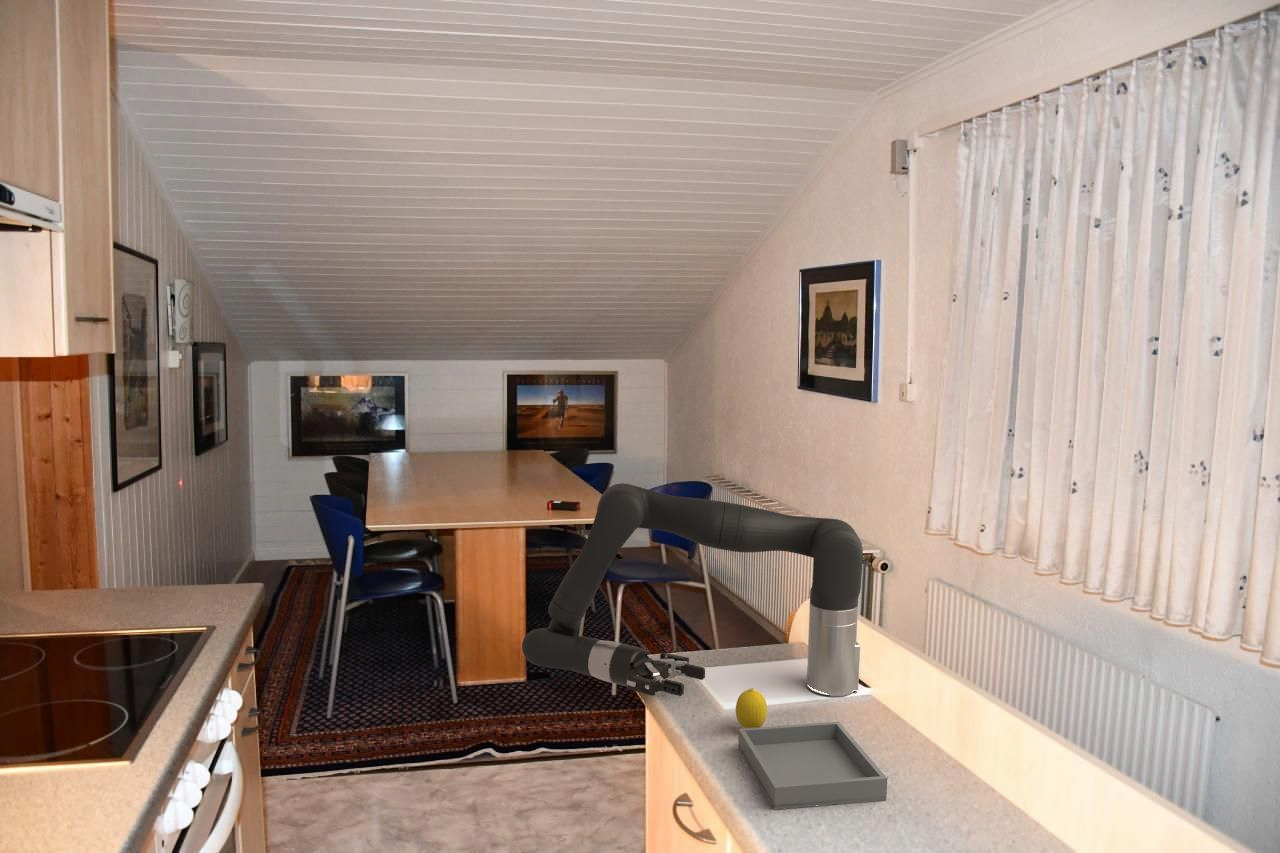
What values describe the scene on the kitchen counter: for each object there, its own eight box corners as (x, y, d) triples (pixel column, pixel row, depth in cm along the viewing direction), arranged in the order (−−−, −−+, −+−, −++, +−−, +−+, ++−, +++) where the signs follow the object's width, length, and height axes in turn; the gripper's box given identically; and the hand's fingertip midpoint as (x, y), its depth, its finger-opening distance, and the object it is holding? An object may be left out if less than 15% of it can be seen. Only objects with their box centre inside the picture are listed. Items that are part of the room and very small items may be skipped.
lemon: (746, 741, 171) (747, 697, 170) (729, 728, 176) (730, 685, 175) (772, 734, 174) (774, 691, 173) (754, 722, 179) (756, 680, 178)
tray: (838, 741, 172) (838, 721, 171) (886, 800, 152) (887, 778, 152) (738, 748, 169) (738, 728, 168) (774, 809, 149) (775, 787, 149)
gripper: (598, 656, 181) (676, 675, 173) (637, 633, 193) (711, 650, 185) (597, 695, 182) (675, 715, 174) (636, 669, 194) (710, 688, 186)
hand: (693, 681), depth 180 cm, fingers open, 8 cm apart
